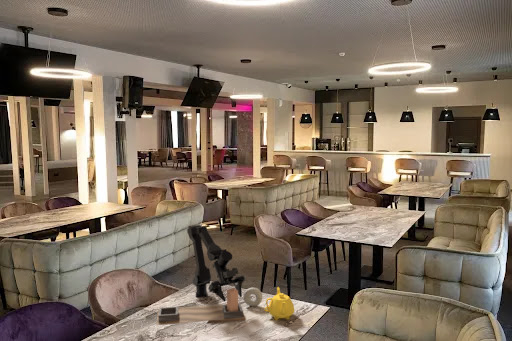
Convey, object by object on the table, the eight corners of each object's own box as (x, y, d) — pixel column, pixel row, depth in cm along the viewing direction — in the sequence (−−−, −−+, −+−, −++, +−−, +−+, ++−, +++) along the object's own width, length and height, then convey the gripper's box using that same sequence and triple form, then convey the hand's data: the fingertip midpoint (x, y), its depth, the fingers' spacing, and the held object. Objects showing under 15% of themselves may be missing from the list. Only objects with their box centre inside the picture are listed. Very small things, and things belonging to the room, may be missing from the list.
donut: (262, 304, 218) (262, 286, 217) (262, 307, 214) (262, 289, 214) (243, 304, 218) (243, 286, 217) (243, 307, 215) (243, 288, 214)
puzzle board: (158, 312, 209) (158, 303, 209) (240, 306, 216) (240, 297, 216) (156, 327, 192) (155, 318, 192) (245, 320, 199) (245, 311, 199)
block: (227, 313, 204) (226, 289, 203) (234, 311, 206) (234, 288, 205) (231, 316, 200) (230, 292, 199) (238, 314, 203) (238, 290, 202)
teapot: (262, 308, 214) (262, 286, 213) (290, 307, 215) (290, 285, 214) (267, 326, 194) (267, 302, 193) (298, 325, 195) (298, 301, 194)
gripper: (210, 266, 200) (222, 295, 192) (243, 259, 210) (255, 287, 202) (203, 277, 207) (214, 306, 199) (235, 270, 217) (246, 297, 209)
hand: (233, 299), depth 202 cm, fingers open, 9 cm apart
